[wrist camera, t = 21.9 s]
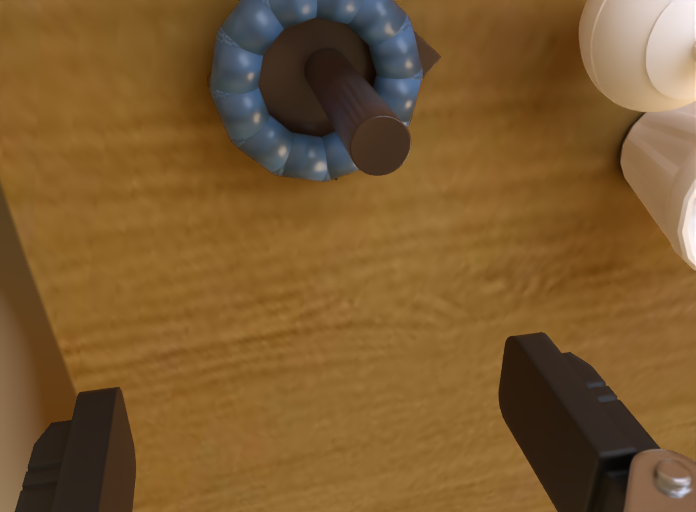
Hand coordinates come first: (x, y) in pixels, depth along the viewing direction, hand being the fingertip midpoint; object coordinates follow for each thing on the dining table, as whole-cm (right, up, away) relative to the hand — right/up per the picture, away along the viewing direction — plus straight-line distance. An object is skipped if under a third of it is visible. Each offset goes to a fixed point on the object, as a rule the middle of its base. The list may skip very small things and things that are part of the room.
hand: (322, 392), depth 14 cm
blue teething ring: (-1, +12, +20) cm, 24 cm away
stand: (-1, +13, +23) cm, 26 cm away
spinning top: (+14, +17, +24) cm, 33 cm away
